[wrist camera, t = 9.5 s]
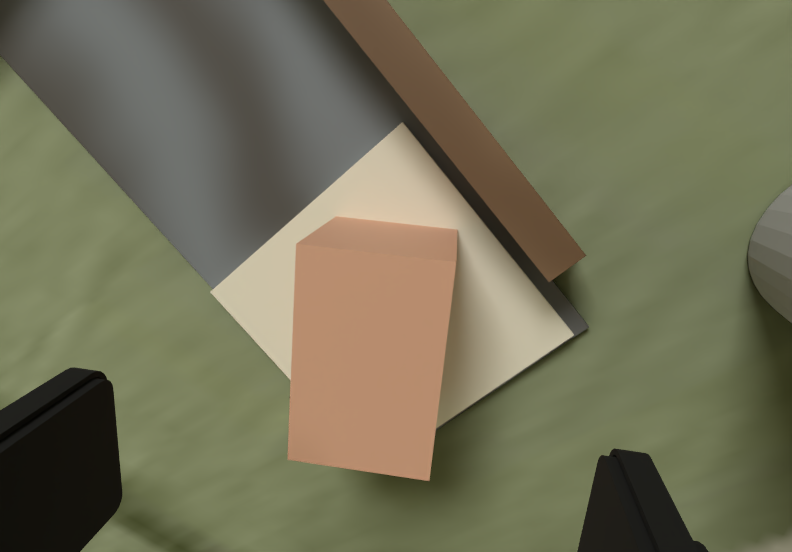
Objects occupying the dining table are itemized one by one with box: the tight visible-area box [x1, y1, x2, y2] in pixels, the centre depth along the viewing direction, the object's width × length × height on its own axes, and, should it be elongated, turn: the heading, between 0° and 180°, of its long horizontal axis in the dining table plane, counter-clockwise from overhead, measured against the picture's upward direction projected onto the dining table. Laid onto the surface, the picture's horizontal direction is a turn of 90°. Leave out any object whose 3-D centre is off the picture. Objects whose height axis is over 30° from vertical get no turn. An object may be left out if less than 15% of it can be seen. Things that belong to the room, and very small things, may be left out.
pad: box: [211, 122, 574, 428], centre depth 21 cm, size 10×10×1 cm
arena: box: [0, 0, 589, 430], centre depth 18 cm, size 12×26×3 cm, turn 40°
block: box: [288, 216, 458, 481], centre depth 18 cm, size 7×4×5 cm, turn 175°
